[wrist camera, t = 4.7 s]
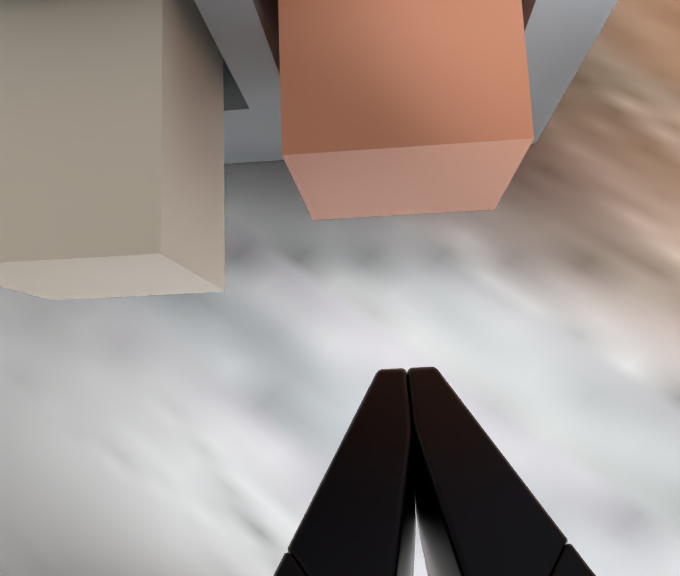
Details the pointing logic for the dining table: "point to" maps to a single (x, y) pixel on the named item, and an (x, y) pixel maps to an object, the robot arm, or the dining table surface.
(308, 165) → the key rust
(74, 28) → the key ivory
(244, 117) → the grey box
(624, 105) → the dining table surface
